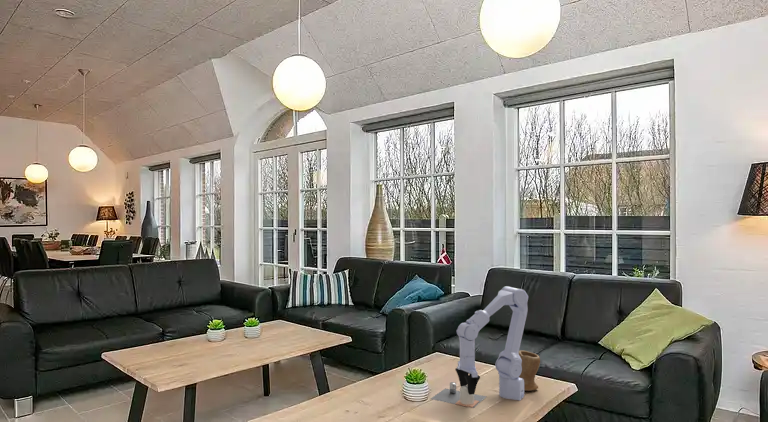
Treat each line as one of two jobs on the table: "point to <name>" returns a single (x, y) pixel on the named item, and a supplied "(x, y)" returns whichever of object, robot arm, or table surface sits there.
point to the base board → (454, 397)
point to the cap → (466, 396)
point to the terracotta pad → (467, 405)
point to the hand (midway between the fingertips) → (467, 390)
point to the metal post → (452, 388)
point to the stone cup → (529, 369)
